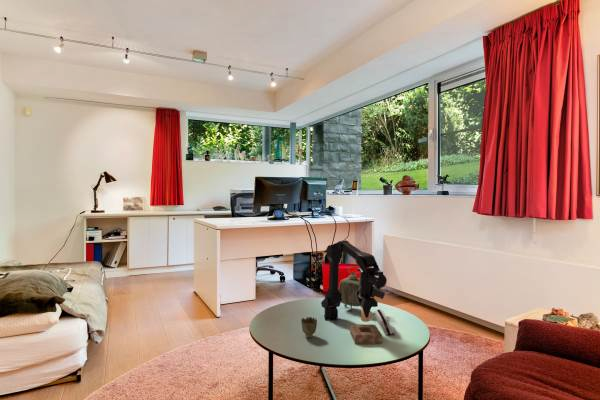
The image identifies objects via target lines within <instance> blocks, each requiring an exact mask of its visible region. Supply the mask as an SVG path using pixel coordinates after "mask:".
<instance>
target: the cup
mask: <svg viewBox="0 0 600 400" xmlns="http://www.w3.org/2000/svg"><path fill="white" fill-rule="evenodd" d="M300 321H301V329H302V333H303V334H304V336H305V337H306V338H308V339H311V338H312V337H313V336H314V334H315V333H316V330H317V326H318V319H317V317H316V318H315V317H312V316H309V317H308V316H307V317H306V318H305V317H303V318H301V320H300Z"/></svg>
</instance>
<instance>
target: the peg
mask: <svg viewBox="0 0 600 400" xmlns="http://www.w3.org/2000/svg"><path fill="white" fill-rule="evenodd" d="M360 309H361V311H360V312H361V314H360V317H361V319H360V320H361V321H362V322H366V323H368V322H370V321H371V312H370V313H369V316H368V318H366V317H365V314H364V311H363V308H362V307H360Z"/></svg>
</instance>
